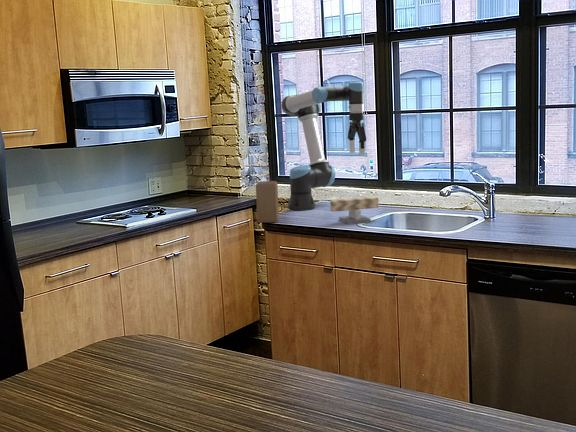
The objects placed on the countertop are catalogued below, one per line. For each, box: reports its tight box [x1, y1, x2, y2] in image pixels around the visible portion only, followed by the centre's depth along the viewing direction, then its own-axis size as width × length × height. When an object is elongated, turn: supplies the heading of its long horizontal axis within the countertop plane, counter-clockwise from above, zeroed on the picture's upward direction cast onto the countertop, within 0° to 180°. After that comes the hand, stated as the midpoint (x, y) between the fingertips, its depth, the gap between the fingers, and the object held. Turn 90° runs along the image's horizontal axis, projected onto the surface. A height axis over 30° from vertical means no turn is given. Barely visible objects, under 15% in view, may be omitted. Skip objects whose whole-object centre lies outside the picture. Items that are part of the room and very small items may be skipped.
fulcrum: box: [339, 209, 372, 225], centre depth 336 cm, size 12×12×6 cm
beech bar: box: [329, 196, 379, 213], centre depth 335 cm, size 24×4×5 cm, turn 106°
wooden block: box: [255, 180, 280, 224], centre depth 342 cm, size 10×10×20 cm
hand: (357, 153), depth 347 cm, fingers open, 13 cm apart
